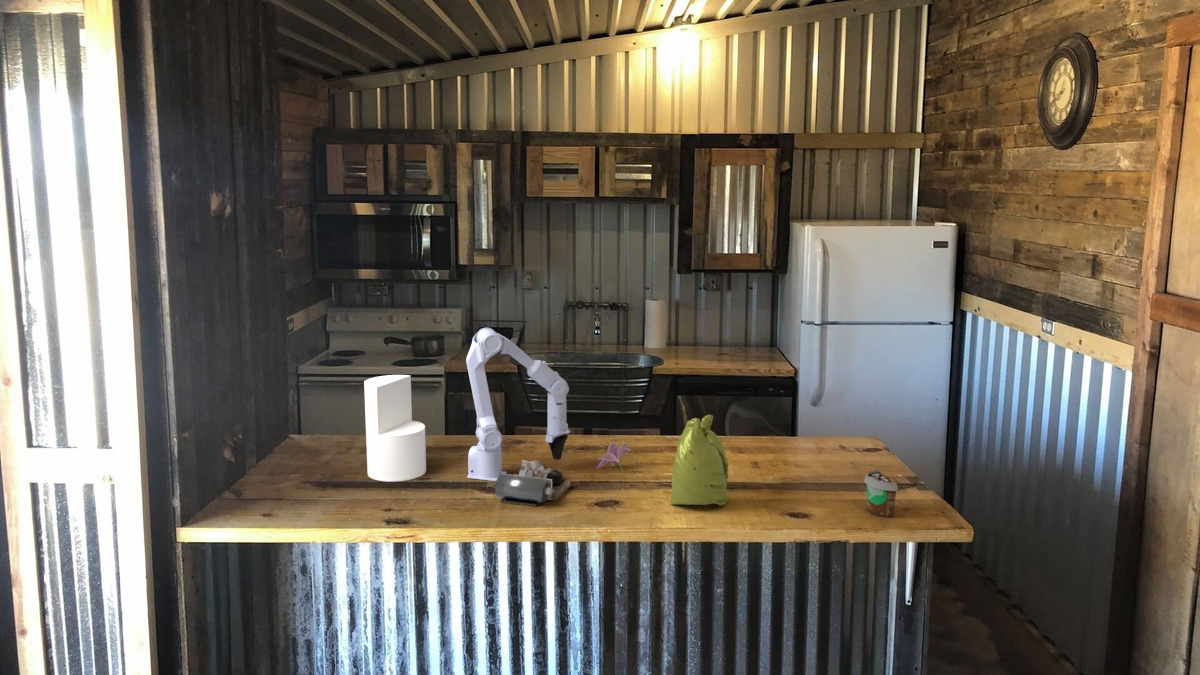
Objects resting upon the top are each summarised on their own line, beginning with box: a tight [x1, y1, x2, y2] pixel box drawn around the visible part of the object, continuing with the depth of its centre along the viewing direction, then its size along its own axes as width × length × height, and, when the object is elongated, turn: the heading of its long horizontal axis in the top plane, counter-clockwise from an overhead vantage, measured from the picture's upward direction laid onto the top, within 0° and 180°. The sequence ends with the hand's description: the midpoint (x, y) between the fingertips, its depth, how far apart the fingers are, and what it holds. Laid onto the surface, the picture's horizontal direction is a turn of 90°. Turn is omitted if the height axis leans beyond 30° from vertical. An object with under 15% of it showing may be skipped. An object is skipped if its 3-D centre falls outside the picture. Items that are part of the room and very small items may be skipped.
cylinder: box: [363, 374, 427, 482], centre depth 272 cm, size 17×17×28 cm
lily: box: [597, 441, 632, 474], centre depth 277 cm, size 12×12×10 cm
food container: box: [863, 468, 898, 519], centre depth 244 cm, size 12×6×10 cm, turn 5°
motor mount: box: [494, 473, 571, 507], centre depth 255 cm, size 17×19×7 cm
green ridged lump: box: [670, 414, 729, 506], centre depth 253 cm, size 25×16×24 cm, turn 170°
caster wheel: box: [518, 459, 564, 485], centre depth 265 cm, size 7×11×10 cm
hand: (557, 458), depth 277 cm, fingers closed
